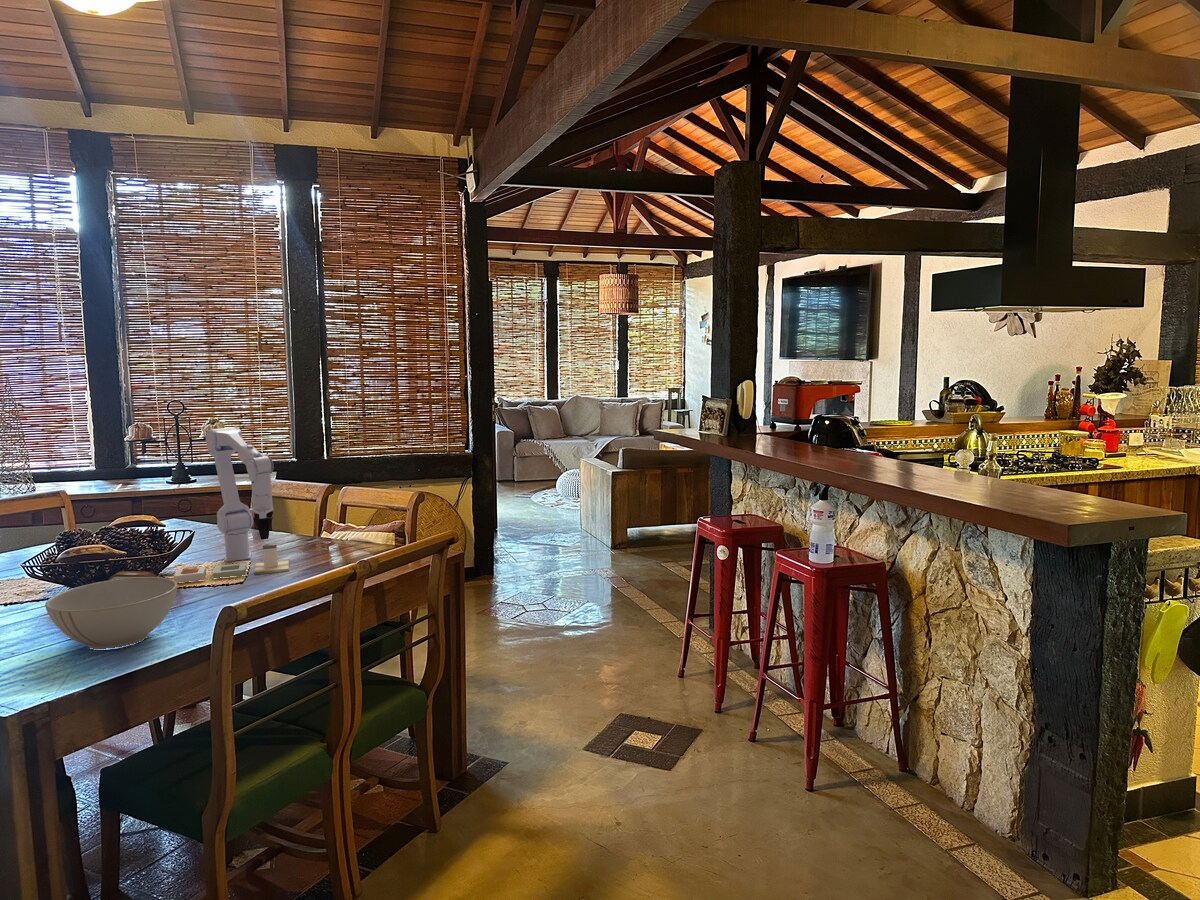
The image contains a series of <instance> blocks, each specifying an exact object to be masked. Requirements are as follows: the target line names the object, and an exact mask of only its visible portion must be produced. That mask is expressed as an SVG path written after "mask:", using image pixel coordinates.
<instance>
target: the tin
mask: <svg viewBox="0 0 1200 900" xmlns="http://www.w3.org/2000/svg"><path fill="white" fill-rule="evenodd" d="M135 577H158V576H157V574H155V573H153V572H151V571H132V570H131V571H129V570H128V571H125V570H121V571H118V572H116V573H115V574H113V575H111V576H110V577H109V578H108V580H107V581H109V580H116V579H124V578H135Z"/></svg>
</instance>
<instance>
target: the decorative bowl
mask: <svg viewBox="0 0 1200 900" xmlns="http://www.w3.org/2000/svg"><path fill="white" fill-rule="evenodd" d="M177 592H178V584H177V583H176V582H175V581H174V579H171V578H165V577H159V576H157V577H135V578H124V579H116V580H109V581H108V580H104V581H98V582H93V583H89V584H85V585H84V584H83V585H79V586H76V587H74V588H70V589H67V590H64V591H61V592H59V593H57V594H55V595H53V596H51V597H50V598H49V599H47V601H45V604H44V607H45V609H46V612H47V614H48V617H49V618H50V619H51V621H52V622H53V623H54V624H55V626H56V627H57V628H58V629H59V630H60V631H61V632H62V633H63V634H64V635H66V637H68V638H70V639H72V640H73V641H76V642H78V643H82V644H84V645H87V648H88V647H89V648H93V649H106V648H115V647H122V646H126V645H130V644H134V643H137V642H139V641H142V640H143V639H145V638H146V637H147V636H148V637H149V634H150V633H151V632H153V631H154V630H155V629H156V628H158V627H159V625H160V624H161V623H162V622H163V621H164V619H166V617H167V615H168V614H169V612H170V611H171V608H172V606H173V603H174V602H175V599H176V596H177ZM148 637H147V638H148ZM89 648H88V649H89Z"/></svg>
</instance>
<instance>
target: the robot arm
mask: <svg viewBox="0 0 1200 900" xmlns="http://www.w3.org/2000/svg"><path fill="white" fill-rule="evenodd" d="M205 444H206V448H207V451H208V455H209V456H211V457H213V459H214V463H215V468H216V473H217V477H218V483H219V487H220V491H221V497H222V502H223V505H222V506H221V507H220V508H219V509H218V511H217V512H216V517H217V518H216V519H217V521H216V523H217V525H216V526H217V528H218V531H219V532H220V533H222V534H224V545H225V546H224V547H225V556H224V559H223V561H224V562H225V561H226V562H232V561H235V562H236V561H243V560H250V559H251V558H252V553H253V552H252V551H250V545H249V544H250V543H249V531H251V530H250V529H251V528H252V527H253V525H254V524H255V525H256V527H257V530H258V533H259V537H260V540H261V541H262V540H269V537H270V528H271V524H272V521H273V518H274V517H273V514H274V505H273V493H272V491H273V490H272V480H271V479H272V478H271V474H272V473H273V472H274V461H273V458H271V456H270V455H269V454H268V455H263V454H262V453H261V452H259V450H258V449H257V448H256V447H254V445H253V444H247V442H245V440H244V439H243V432H242V430H241V428H240V427H238V426H233V427H222V428H220V427H219V428H209V429H208V430H207V431H206V434H205ZM236 452H237V458H239V460H240V461H241V462H242V463H243V464H244V465H245V467H246V471H247V474H248V479H249V482H251V496H252V508H250V507H249V506H248V505H247V504H245V503H243V502H241V500H240V496H239V492H238V486H237V481H236V476H235V471H234V467H233V463H232V458H231V456H232V454H234V453H236ZM252 513H254V514H253V515H254V516H255V517H253V515H252Z"/></svg>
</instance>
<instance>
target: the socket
mask: <svg viewBox="0 0 1200 900" xmlns="http://www.w3.org/2000/svg"><path fill="white" fill-rule="evenodd" d="M246 569H247V570H248V565H247V562H242V563H232V564H231V563H230V564H221V565H215V566H214V568H213V571H212V579H213V578H220V577H230V576H242V575H247V571H246ZM242 577H243V576H242Z"/></svg>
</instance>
